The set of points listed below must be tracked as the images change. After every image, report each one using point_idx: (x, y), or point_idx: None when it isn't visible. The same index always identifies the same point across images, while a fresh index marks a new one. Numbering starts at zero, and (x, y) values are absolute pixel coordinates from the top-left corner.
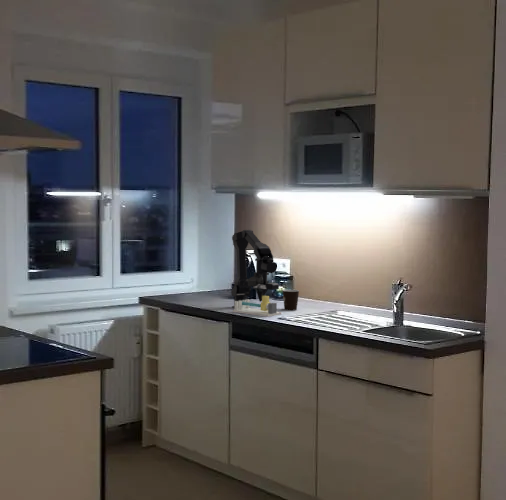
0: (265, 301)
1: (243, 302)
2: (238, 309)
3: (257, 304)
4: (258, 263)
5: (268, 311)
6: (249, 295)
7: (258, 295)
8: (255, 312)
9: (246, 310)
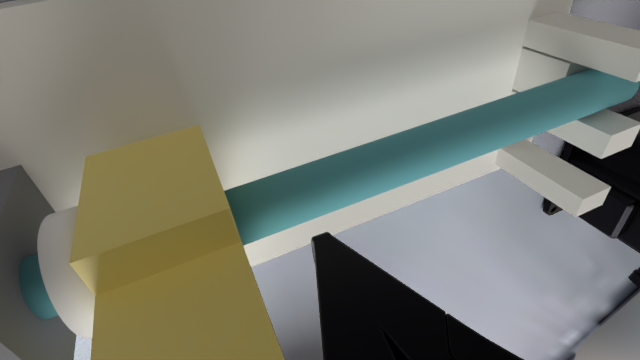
0: (130, 306)
1: (591, 90)
2: (554, 5)
3: (344, 174)
4: None
5: (7, 186)
6: (631, 279)
7: (411, 316)
8: (227, 28)
9: (446, 40)
